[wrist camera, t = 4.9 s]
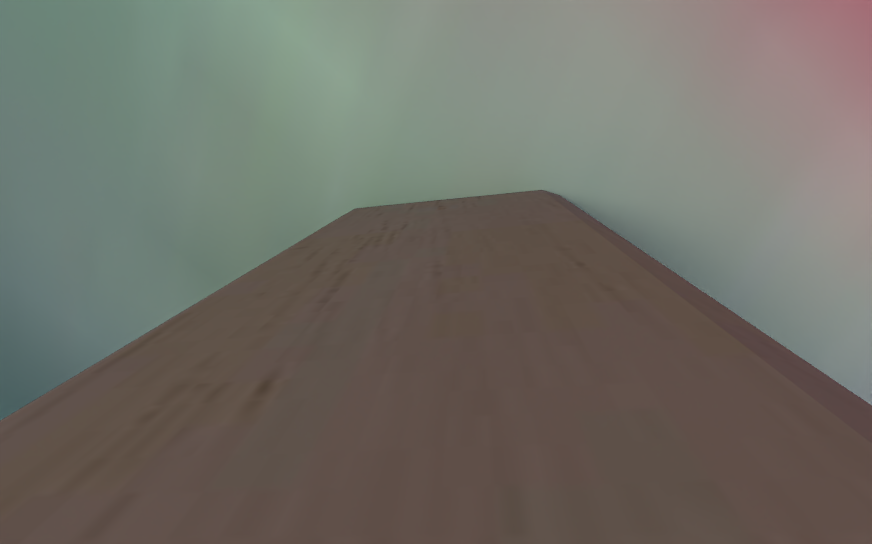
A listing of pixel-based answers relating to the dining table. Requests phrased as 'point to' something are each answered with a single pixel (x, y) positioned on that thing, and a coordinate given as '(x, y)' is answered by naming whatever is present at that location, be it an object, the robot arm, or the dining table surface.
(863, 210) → the dining table surface
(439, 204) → the block
